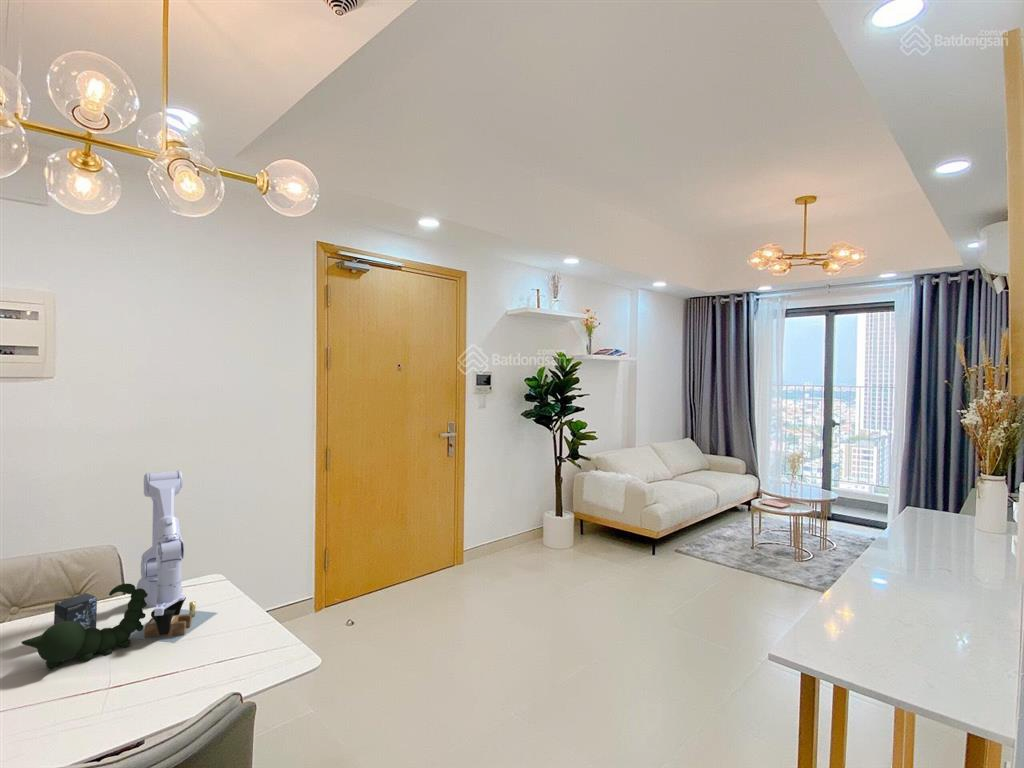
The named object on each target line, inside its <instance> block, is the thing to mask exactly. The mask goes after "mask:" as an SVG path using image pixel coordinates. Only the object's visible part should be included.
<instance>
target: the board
mask: <svg viewBox="0 0 1024 768" xmlns="http://www.w3.org/2000/svg"><path fill="white" fill-rule="evenodd" d="M184 614H189V609H182V608H181V610H180V614H179V615H184ZM217 614H218V612H213V611H203V610H195V617H192V618H191V627H190V628H186V633H185V635H178V636H165V637H152V638H144V635H145V625H146V624H147V623H148V622H149V621H146V622H145V623H144V624H142V625H143V626H144V628H143V630H142V631H137V630H135V631H134V632H133V633H131V635H130V637H129V639H133V640H143V641H153V642H154V641H155V642H162V643H163V642H165V643H173V644H174V643H177V642H178V641H179V640H181V639H182V638H184V637H185V636H186V635H188V634H189V633H192V632H193V631H195V629H197V628H199V627H200V626H202V625H203V624H204V623H206V622H207V621H208V620H210V619H212V618H213V617H215V616H216V615H217Z"/></svg>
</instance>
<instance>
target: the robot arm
mask: <svg viewBox="0 0 1024 768" xmlns="http://www.w3.org/2000/svg"><path fill="white" fill-rule="evenodd" d="M183 481H184V480H183V473H182V471H181V470H175V471H174V470H172V471H163V472H162V471H161V472H151V473H150V472H146V473H145V474H144V475H143V495H144V497H147V498H150V499H151V501H152V533H151V534H152V535H151V537H152V542H151V545H152V546H150V547H149V548H148V549H147V550H146V551H144V552H143V553H142V555H141V559H140V560H141V561H140V577H141V578H140V579H139V580H138V582H137V584H136V587H135V588H136V589H139V588H141V589H144V590H145V591H146V593H147V594H148V595H147V597H146V598H144V600H145V602H146V603H147V605H146V607H151V608H152V607H153V608H154V607H155V608H154V609H153V610H152V611H151V612H150V615H151V616H150V617H151V618H153V619H154V620H155V622H156V624H157V628H158V631H159V634H160V635H167V634H168V633H169V631H170V626H171V620H172V617H173V615H179V614H180V610H181V609H182V608H183V605H184V603H185V601H186V598H187V597H186V595H185V594H183V586H182V567H183V566H182V564H183V561H182V560H183V559H184V557H185V543H184V540H183V536H182V535H181V527H180V520H179V518H178V517H176V516H175V496H177V495H178V494H180V491H181V489H182V488H183Z"/></svg>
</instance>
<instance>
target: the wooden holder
mask: <svg viewBox="0 0 1024 768" xmlns="http://www.w3.org/2000/svg"><path fill="white" fill-rule="evenodd" d="M191 616H192V614H184V615H173V617H172V620H171V626H170V631H169V633H168V634H167V635H160V634H159V631H158V628H157V624H156V622H155V620H154V619H153V618H152V617H151V618H150V619H149V621H147V622H148V623H147V622H146V623H147V624H146V625H145V635H144V638H152V637H165V636H178V635H185V633H186V628H190V627H191ZM185 636H186V635H185Z"/></svg>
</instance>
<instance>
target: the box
mask: <svg viewBox="0 0 1024 768" xmlns="http://www.w3.org/2000/svg"><path fill="white" fill-rule="evenodd" d="M97 603H98V597H97V596H95V595H92V594H90V593H88V592H85V593H82V594H79V595H77V596H73V597H71V598H67V599H64V600H61V601H58V602H57V601H56V602H55V603H54V612H53V613H54V615H53V617H54V618H53V625H55V624H57V623H60V622H64V621H73V622H77V623H79V624H81V625H82V626H83V627H84V628H85V629H87V628H97V614H98V613H97V609H98V608H97V607H98V605H97Z"/></svg>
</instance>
